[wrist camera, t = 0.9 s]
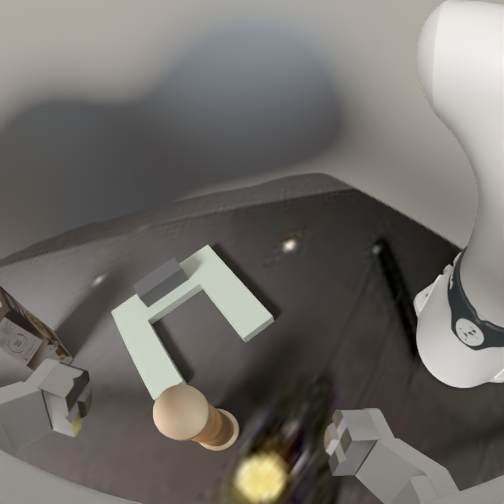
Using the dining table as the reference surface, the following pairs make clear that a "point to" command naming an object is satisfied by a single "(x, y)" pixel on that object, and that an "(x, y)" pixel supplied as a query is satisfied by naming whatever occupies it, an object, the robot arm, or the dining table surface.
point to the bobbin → (194, 418)
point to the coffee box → (27, 335)
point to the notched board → (171, 296)
